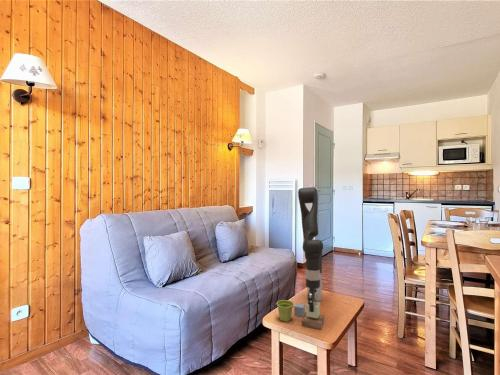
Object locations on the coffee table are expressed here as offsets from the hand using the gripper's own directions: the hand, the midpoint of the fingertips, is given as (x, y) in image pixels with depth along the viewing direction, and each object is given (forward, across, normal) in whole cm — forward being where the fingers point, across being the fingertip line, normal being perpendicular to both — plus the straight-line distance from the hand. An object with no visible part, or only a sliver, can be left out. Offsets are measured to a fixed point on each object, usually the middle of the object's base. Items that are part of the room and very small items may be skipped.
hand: (312, 308), depth 149 cm
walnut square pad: (+8, 0, 0) cm, 8 cm away
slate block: (+8, -8, -9) cm, 14 cm away
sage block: (+3, 0, 0) cm, 3 cm away
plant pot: (+8, +1, -15) cm, 17 cm away
